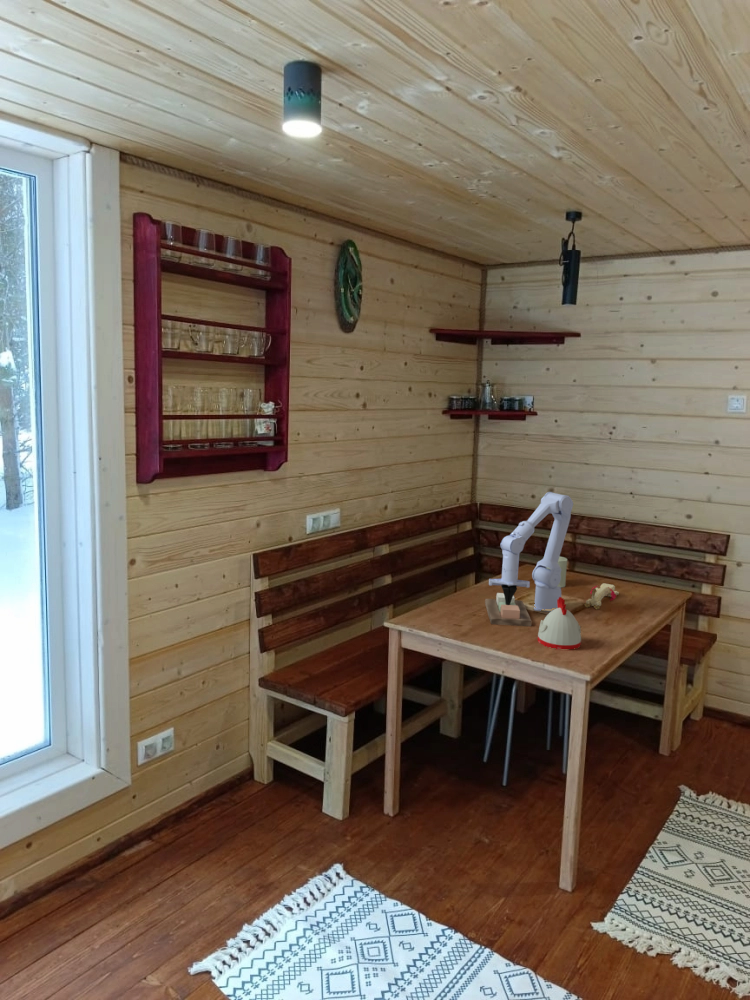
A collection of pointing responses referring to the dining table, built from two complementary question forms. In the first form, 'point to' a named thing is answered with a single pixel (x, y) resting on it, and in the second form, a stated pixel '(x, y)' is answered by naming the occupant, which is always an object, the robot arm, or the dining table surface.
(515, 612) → the terracotta button
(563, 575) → the pale green cup
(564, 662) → the dining table surface
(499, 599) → the cream button
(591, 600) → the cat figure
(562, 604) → the kitchen timer
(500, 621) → the brown tray
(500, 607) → the sage button
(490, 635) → the dining table surface
